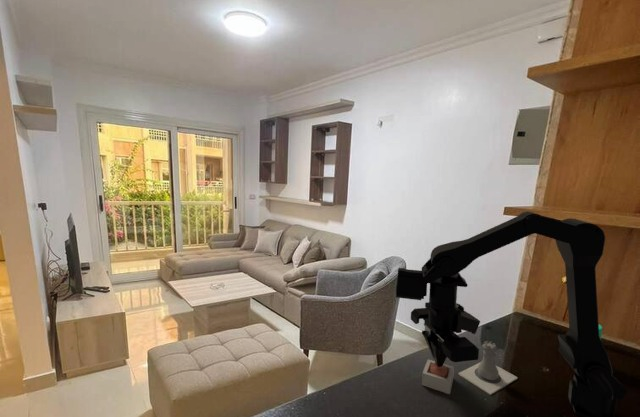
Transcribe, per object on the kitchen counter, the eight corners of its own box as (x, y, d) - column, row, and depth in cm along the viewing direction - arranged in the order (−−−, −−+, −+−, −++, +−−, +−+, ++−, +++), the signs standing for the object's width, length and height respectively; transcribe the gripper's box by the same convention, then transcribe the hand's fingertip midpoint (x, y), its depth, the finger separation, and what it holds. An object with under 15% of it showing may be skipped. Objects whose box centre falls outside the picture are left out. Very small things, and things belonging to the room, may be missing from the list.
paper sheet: (485, 360, 80) (485, 359, 80) (517, 378, 73) (517, 377, 73) (458, 374, 75) (458, 372, 75) (490, 395, 68) (490, 393, 68)
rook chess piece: (501, 375, 74) (503, 344, 73) (494, 384, 71) (497, 351, 70) (481, 366, 77) (483, 336, 76) (474, 374, 74) (476, 343, 73)
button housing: (453, 378, 73) (454, 367, 73) (449, 394, 68) (450, 382, 68) (427, 370, 76) (427, 359, 76) (422, 385, 71) (422, 372, 71)
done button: (447, 375, 72) (448, 365, 72) (445, 384, 69) (445, 374, 69) (431, 370, 74) (432, 360, 74) (428, 378, 71) (429, 369, 71)
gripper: (505, 318, 62) (499, 390, 64) (450, 284, 80) (447, 340, 82) (454, 323, 60) (450, 396, 62) (410, 287, 78) (408, 344, 80)
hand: (439, 365), depth 71 cm, fingers closed
